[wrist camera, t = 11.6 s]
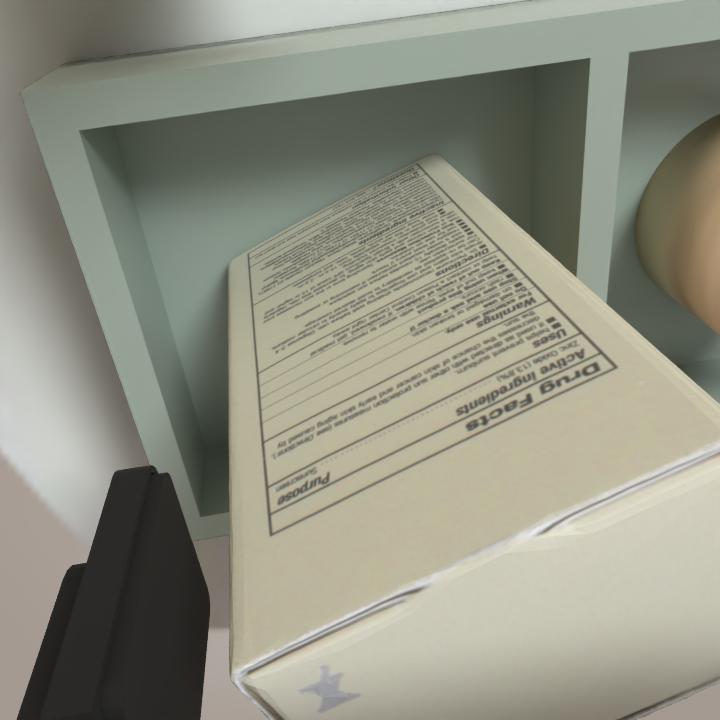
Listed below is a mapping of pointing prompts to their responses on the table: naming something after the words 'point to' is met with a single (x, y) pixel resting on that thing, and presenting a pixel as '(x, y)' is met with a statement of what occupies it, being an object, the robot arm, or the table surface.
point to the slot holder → (360, 174)
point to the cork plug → (685, 223)
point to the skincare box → (458, 476)
